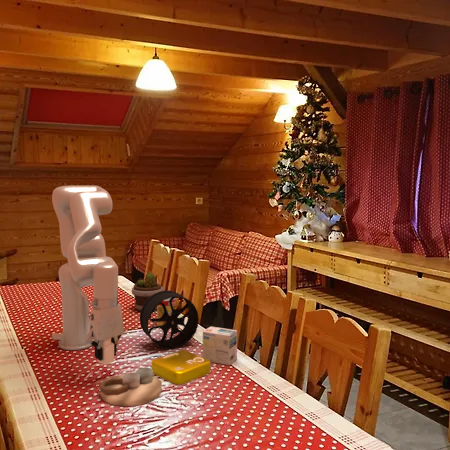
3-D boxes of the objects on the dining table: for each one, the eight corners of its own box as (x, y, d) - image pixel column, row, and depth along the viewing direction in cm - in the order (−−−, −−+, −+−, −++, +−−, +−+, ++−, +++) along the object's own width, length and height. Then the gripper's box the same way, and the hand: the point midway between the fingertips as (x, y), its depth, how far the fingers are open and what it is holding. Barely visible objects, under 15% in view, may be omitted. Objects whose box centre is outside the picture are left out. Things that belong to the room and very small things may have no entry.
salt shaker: (105, 365, 156) (105, 337, 154) (96, 362, 158) (96, 334, 156) (114, 361, 159) (115, 333, 158) (105, 358, 161) (105, 330, 160)
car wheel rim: (147, 353, 181) (147, 299, 178) (139, 344, 190) (139, 292, 187) (198, 345, 189) (198, 293, 187) (188, 337, 198) (188, 287, 196)
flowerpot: (127, 307, 239) (127, 266, 237) (158, 303, 245) (158, 264, 243) (135, 315, 226) (135, 272, 224) (167, 311, 232) (167, 269, 230)
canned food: (174, 328, 208) (174, 300, 207) (155, 328, 208) (155, 300, 207) (176, 322, 216) (176, 295, 215) (158, 322, 216) (158, 295, 215)
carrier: (94, 406, 140) (94, 389, 140) (107, 379, 158) (107, 364, 158) (158, 406, 141) (158, 389, 140) (164, 379, 159) (164, 364, 158)
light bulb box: (237, 359, 176) (237, 329, 175) (229, 366, 170) (230, 335, 169) (210, 354, 180) (210, 325, 179) (201, 360, 174) (202, 330, 173)
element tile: (183, 360, 175) (183, 347, 174) (213, 373, 165) (213, 359, 164) (148, 373, 164) (148, 359, 164) (178, 387, 154) (178, 372, 153)
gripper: (88, 310, 147) (88, 368, 150) (135, 299, 159) (134, 353, 162) (75, 304, 152) (75, 360, 155) (121, 293, 164) (121, 346, 167)
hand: (105, 356), depth 158 cm, fingers closed on salt shaker, 4 cm apart
